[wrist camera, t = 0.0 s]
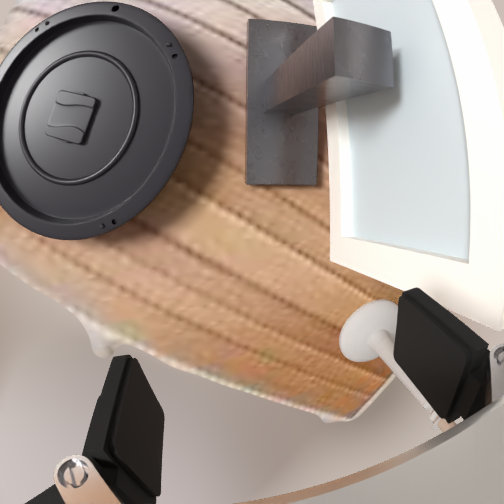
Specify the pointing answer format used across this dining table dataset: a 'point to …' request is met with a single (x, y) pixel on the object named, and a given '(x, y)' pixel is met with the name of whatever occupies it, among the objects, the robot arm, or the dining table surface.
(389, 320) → the candlestick
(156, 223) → the dining table surface
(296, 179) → the frame stand
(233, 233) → the dining table surface
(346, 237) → the picture frame
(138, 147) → the round tray
